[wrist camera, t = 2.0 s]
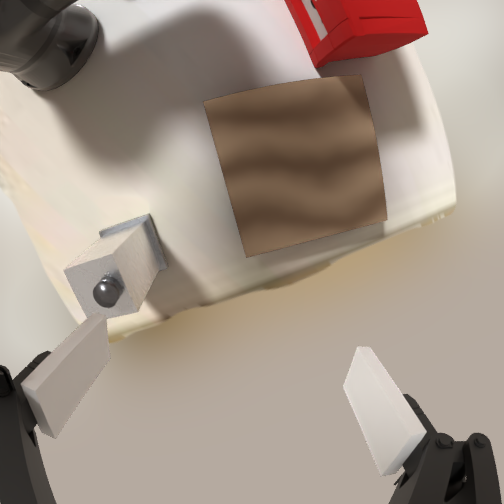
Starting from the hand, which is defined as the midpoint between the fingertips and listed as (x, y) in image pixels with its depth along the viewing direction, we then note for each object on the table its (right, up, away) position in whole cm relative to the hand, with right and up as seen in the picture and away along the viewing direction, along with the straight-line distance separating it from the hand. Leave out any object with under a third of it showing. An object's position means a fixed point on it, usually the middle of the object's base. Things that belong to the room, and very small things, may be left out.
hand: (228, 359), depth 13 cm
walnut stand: (+7, +18, +24) cm, 31 cm away
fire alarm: (+12, +39, +16) cm, 44 cm away
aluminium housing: (-16, +6, +27) cm, 32 cm away
